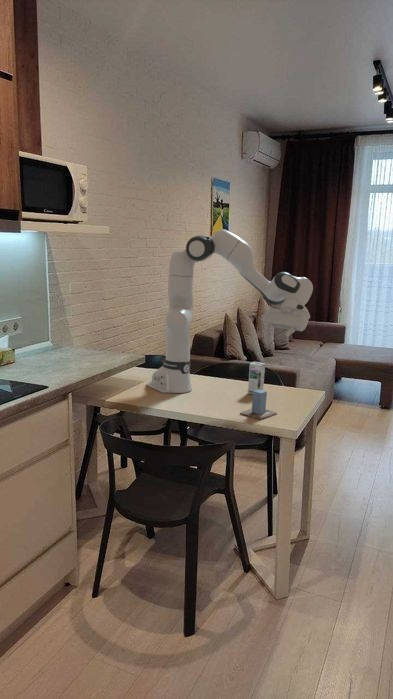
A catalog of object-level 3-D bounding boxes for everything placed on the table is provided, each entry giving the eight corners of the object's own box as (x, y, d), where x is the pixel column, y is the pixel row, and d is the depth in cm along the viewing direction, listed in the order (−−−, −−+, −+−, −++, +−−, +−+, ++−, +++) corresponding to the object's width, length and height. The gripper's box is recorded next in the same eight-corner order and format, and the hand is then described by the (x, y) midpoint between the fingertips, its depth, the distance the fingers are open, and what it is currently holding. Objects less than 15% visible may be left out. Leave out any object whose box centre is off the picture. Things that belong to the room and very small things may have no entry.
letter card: (239, 414, 216) (240, 412, 216) (257, 408, 225) (257, 406, 225) (260, 420, 210) (260, 418, 209) (277, 414, 218) (277, 412, 218)
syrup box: (247, 393, 246) (249, 363, 243) (252, 390, 251) (254, 360, 248) (258, 395, 243) (261, 365, 240) (263, 392, 248) (265, 362, 246)
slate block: (251, 412, 217) (253, 391, 215) (257, 410, 220) (258, 389, 218) (259, 414, 214) (261, 393, 213) (265, 412, 217) (266, 391, 215)
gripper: (268, 302, 232) (253, 326, 227) (309, 307, 219) (294, 333, 214) (273, 311, 237) (259, 335, 231) (313, 317, 223) (299, 342, 218)
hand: (276, 334), depth 223 cm, fingers open, 8 cm apart
